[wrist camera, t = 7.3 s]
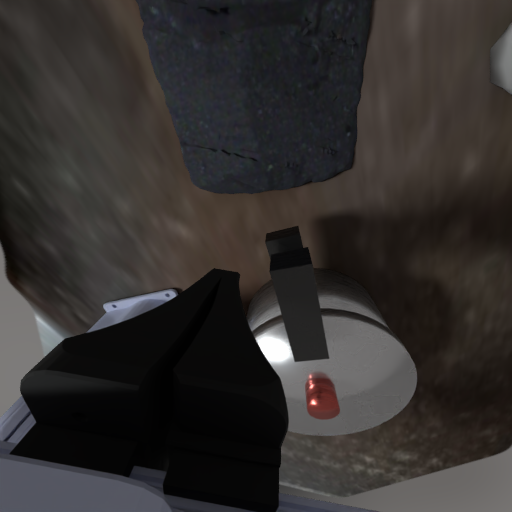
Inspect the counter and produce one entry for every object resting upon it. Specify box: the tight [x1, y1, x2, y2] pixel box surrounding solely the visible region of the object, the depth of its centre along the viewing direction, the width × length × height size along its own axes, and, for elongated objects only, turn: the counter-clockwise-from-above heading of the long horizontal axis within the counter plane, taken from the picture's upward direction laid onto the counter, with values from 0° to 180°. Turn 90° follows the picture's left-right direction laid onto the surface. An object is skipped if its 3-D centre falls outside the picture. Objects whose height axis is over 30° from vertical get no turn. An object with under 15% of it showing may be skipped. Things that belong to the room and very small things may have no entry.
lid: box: [252, 247, 417, 436], centre depth 17 cm, size 20×15×3 cm
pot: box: [246, 226, 389, 331], centre depth 22 cm, size 20×14×6 cm
